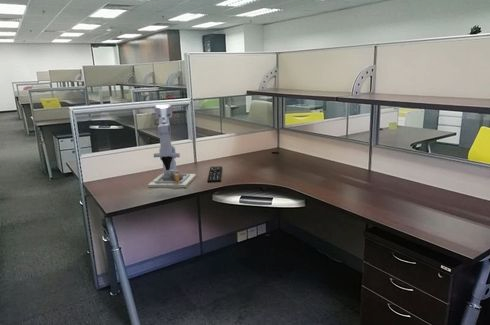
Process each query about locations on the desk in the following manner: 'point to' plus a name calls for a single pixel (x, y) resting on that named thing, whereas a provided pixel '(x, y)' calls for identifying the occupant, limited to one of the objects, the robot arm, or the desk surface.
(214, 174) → the black keyboard
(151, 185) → the white base plate
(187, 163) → the desk surface
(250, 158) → the desk surface
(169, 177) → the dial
